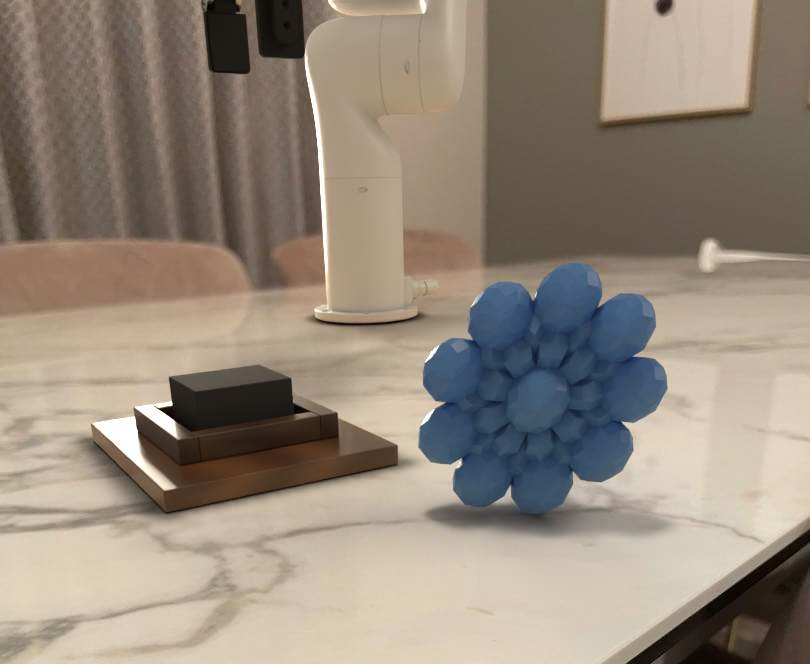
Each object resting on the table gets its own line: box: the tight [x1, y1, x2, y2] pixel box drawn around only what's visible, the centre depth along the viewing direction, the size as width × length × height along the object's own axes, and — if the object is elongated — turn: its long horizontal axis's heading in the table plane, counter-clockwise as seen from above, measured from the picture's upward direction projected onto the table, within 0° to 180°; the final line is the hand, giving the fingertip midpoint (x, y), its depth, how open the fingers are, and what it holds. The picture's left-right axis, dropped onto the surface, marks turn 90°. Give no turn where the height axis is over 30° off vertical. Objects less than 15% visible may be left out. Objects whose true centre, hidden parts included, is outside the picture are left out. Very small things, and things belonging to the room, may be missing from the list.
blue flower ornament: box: [417, 262, 669, 515], centre depth 41 cm, size 12×7×12 cm, turn 82°
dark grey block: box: [168, 364, 294, 432], centre depth 52 cm, size 6×5×4 cm
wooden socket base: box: [90, 392, 399, 513], centre depth 53 cm, size 14×16×3 cm
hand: (254, 66), depth 61 cm, fingers open, 9 cm apart
